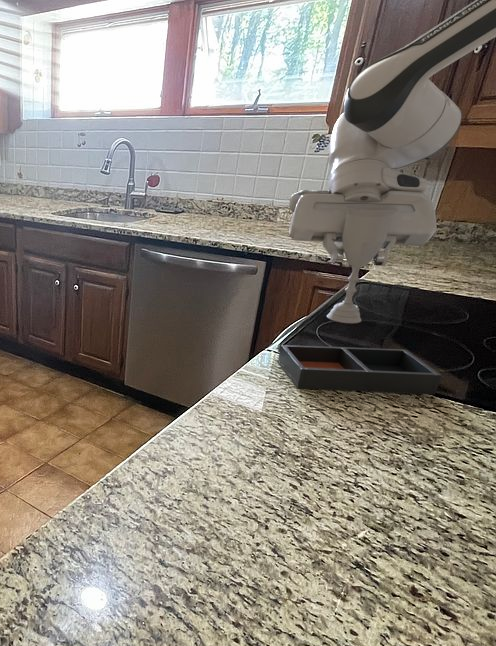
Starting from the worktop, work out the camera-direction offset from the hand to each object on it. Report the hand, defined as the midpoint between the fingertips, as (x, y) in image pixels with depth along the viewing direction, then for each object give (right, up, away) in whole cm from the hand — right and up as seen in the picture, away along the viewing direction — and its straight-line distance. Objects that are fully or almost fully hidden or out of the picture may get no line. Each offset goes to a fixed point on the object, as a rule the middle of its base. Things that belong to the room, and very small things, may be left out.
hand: (358, 262), depth 83 cm
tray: (+5, -19, +10) cm, 22 cm away
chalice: (0, -9, +4) cm, 10 cm away
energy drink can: (+65, +26, +108) cm, 129 cm away
